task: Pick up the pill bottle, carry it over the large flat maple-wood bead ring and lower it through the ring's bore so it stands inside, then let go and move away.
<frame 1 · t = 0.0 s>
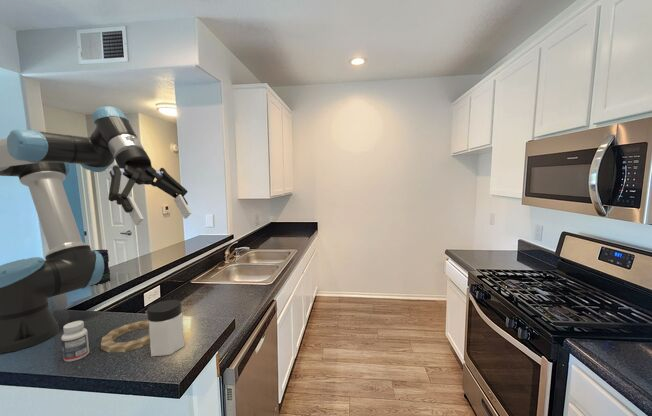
hand: (165, 218, 74), 36 cm above the counter, tool tilted 35°, fingers open, 13 cm apart
jar: (167, 348, 78), on the counter
bead ring: (134, 337, 84), on the counter
pill bottle: (76, 356, 75), on the counter
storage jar: (97, 283, 135), on the counter
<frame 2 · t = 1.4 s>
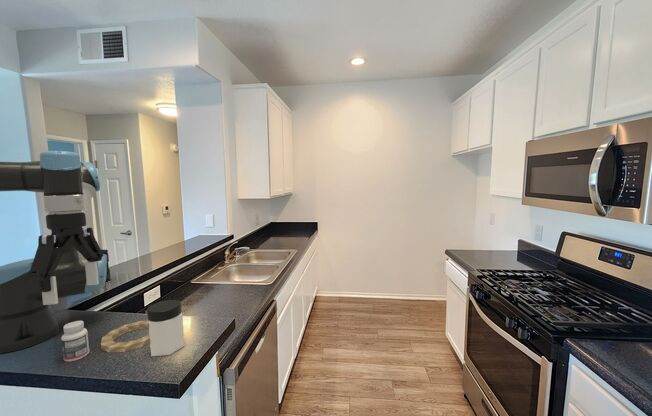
hand: (73, 293, 74), 17 cm above the counter, tool pointing down, fingers open, 13 cm apart
nothing on the counter moved.
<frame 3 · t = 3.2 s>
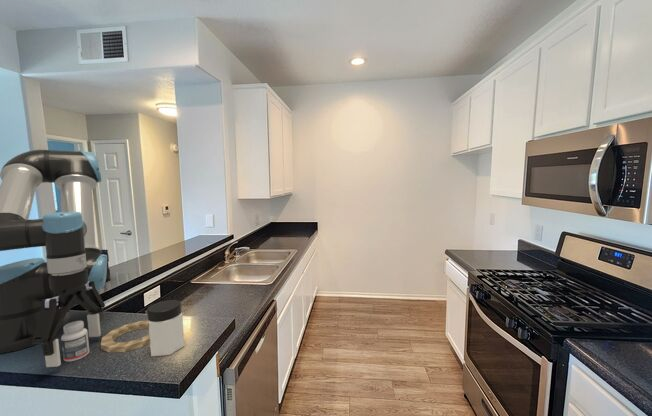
hand: (76, 349, 75), 2 cm above the counter, tool pointing down, fingers open, 13 cm apart
nothing on the counter moved.
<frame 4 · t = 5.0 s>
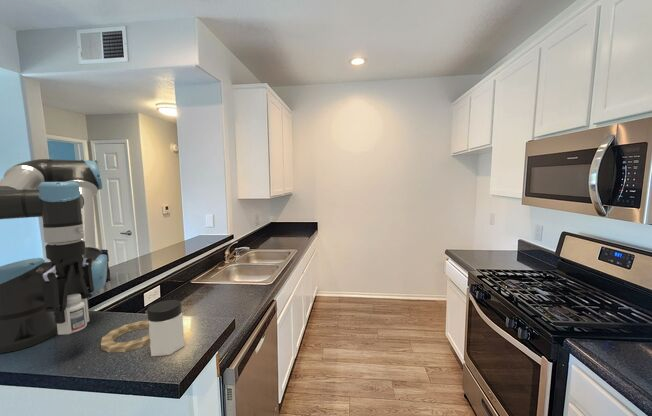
hand: (74, 327, 75), 8 cm above the counter, tool pointing down, fingers closed on pill bottle, 5 cm apart
pill bottle: (74, 329, 75), point 7 cm above the counter, touching gripper
everything else where it was.
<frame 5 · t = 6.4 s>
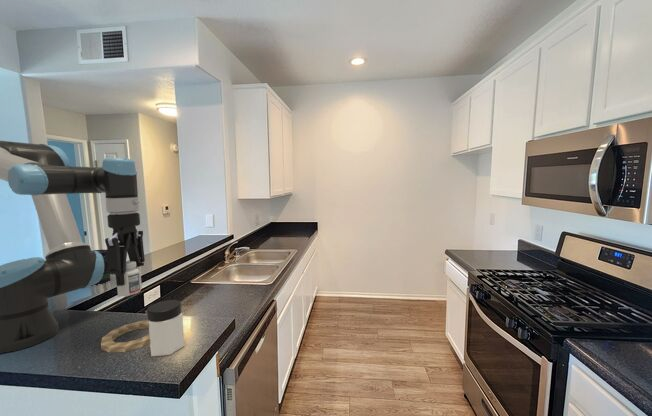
hand: (130, 291, 83), 14 cm above the counter, tool pointing down, fingers closed on pill bottle, 5 cm apart
pill bottle: (130, 293, 83), point 13 cm above the counter, touching gripper
everything else where it was.
when the fingers open (2 cm above the counter, at t = 8.3 s): pill bottle drops 1 cm, resting in bead ring.
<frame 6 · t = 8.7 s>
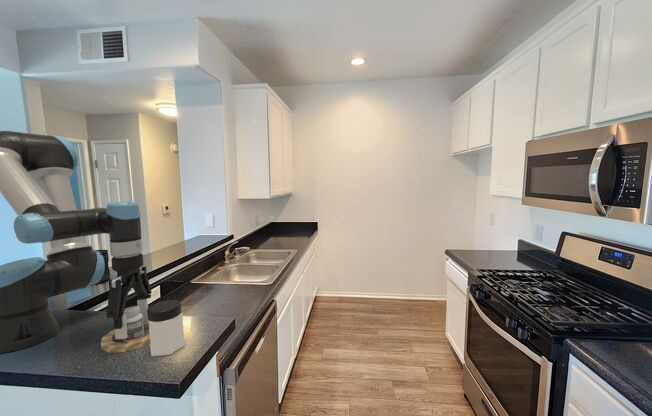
hand: (133, 328, 84), 3 cm above the counter, tool pointing down, fingers open, 10 cm apart
pill bottle: (133, 338, 84), resting in bead ring
everything else where it was.
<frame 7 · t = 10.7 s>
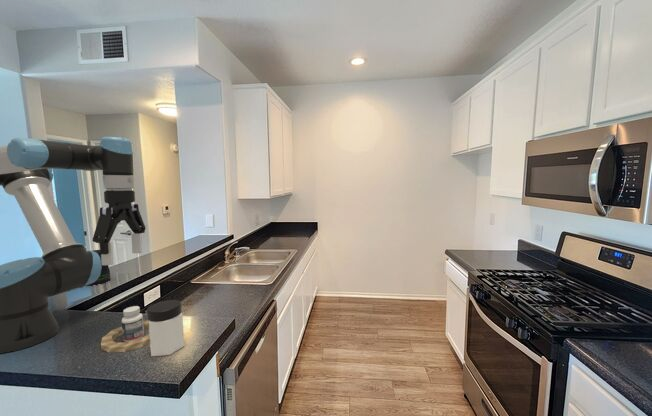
hand: (123, 258, 87), 23 cm above the counter, tool pointing down, fingers open, 13 cm apart
nothing on the counter moved.
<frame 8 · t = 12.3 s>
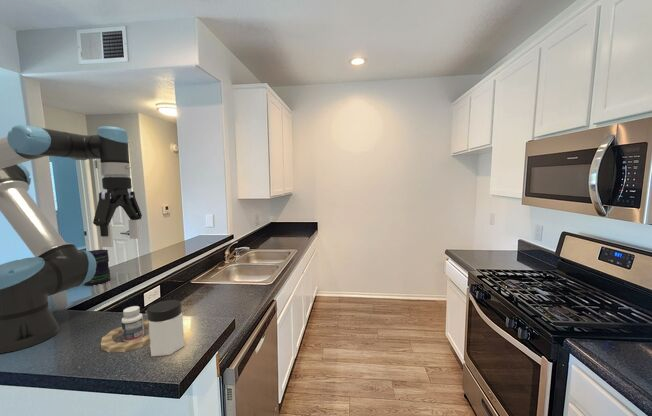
hand: (122, 242, 92), 27 cm above the counter, tool pointing down, fingers open, 13 cm apart
nothing on the counter moved.
at the end: pill bottle 0.1 cm from the bead ring (horizontally); pill bottle tilted 0°; the gripper is holding nothing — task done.
